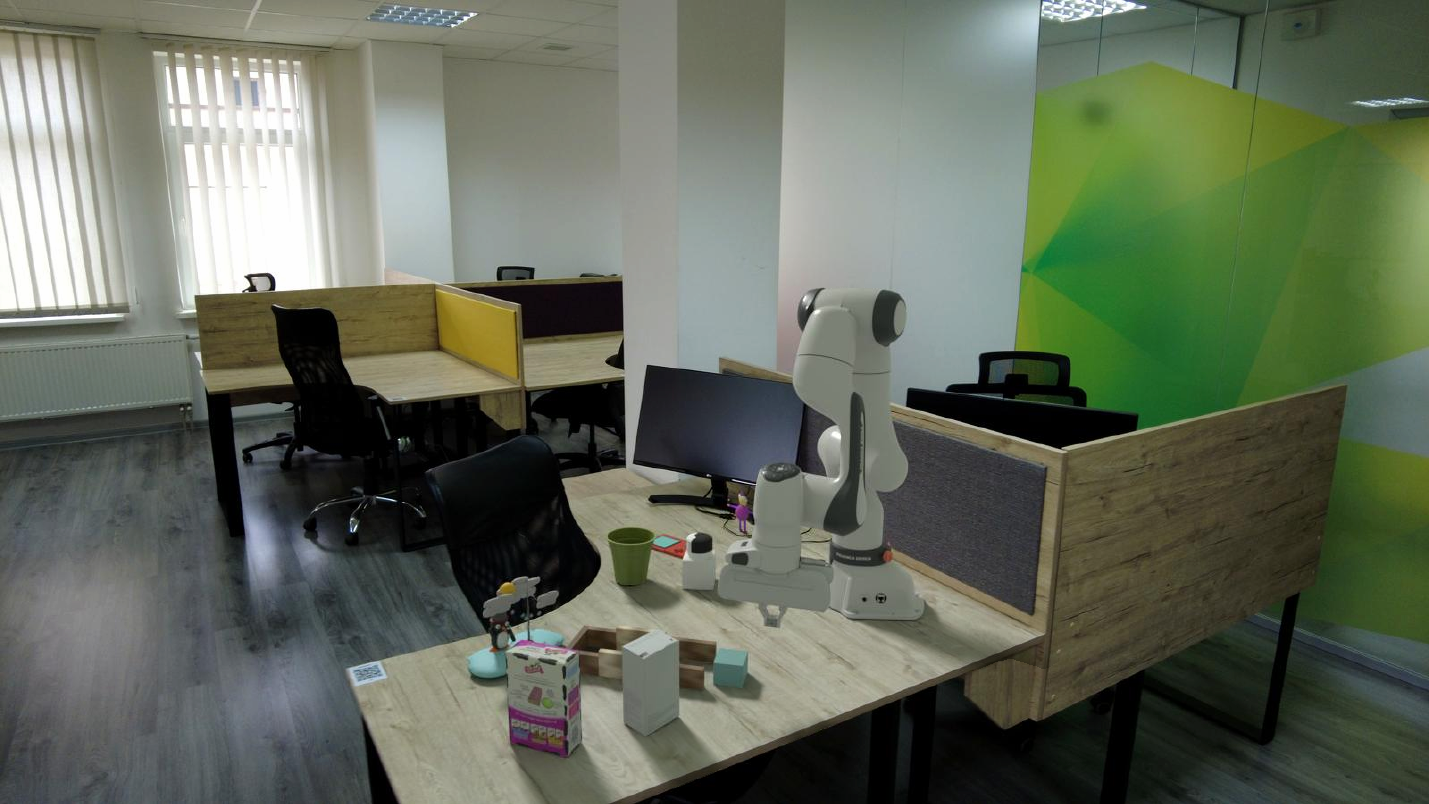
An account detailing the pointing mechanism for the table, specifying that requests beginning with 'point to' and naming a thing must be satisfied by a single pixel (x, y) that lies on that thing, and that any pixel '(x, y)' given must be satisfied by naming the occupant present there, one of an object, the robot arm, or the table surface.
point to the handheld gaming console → (670, 545)
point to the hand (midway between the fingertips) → (772, 625)
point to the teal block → (730, 667)
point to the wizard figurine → (742, 510)
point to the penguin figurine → (495, 657)
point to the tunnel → (605, 645)
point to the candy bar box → (544, 697)
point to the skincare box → (650, 681)
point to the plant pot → (631, 553)
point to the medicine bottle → (699, 563)
